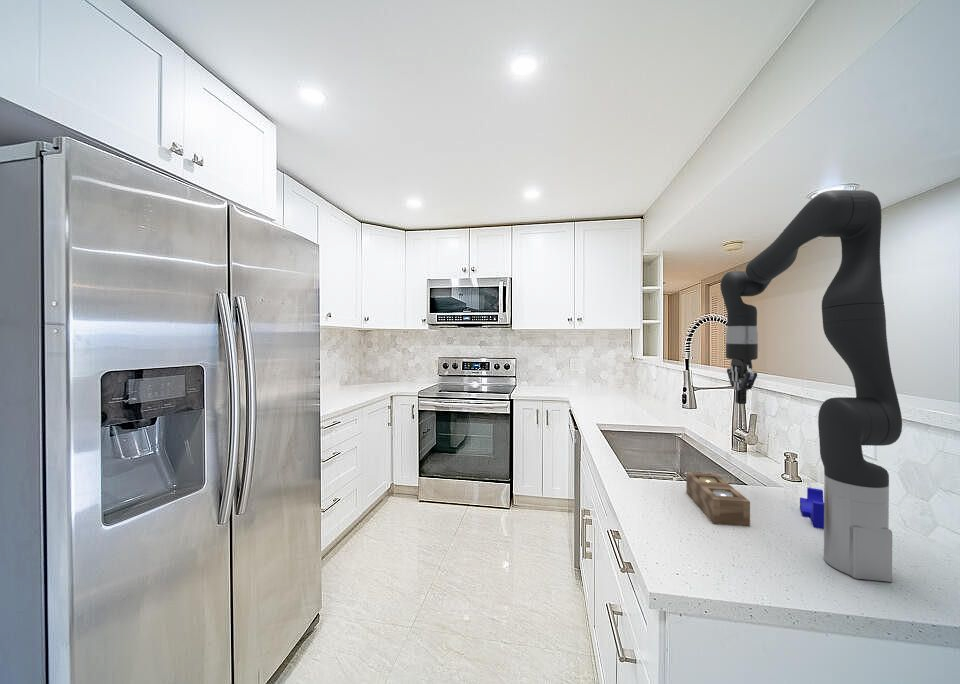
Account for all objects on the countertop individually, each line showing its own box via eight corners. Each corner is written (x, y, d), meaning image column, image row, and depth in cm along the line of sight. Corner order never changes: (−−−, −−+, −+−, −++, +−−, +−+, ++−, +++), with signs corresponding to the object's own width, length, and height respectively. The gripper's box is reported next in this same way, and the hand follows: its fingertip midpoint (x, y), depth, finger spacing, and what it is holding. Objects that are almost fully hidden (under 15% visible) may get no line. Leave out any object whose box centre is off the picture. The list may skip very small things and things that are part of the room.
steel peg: (736, 519, 98) (736, 497, 98) (716, 517, 99) (717, 495, 99) (728, 511, 102) (728, 490, 102) (710, 510, 103) (710, 489, 103)
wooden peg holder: (750, 526, 95) (750, 501, 95) (713, 523, 96) (713, 499, 96) (716, 494, 115) (716, 473, 115) (686, 492, 116) (686, 472, 116)
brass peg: (719, 502, 108) (719, 482, 108) (702, 501, 109) (702, 481, 109) (713, 496, 112) (713, 477, 112) (696, 495, 113) (696, 476, 113)
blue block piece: (799, 508, 106) (799, 486, 105) (822, 512, 103) (822, 489, 103) (805, 526, 96) (805, 501, 96) (830, 531, 93) (830, 505, 93)
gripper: (769, 342, 105) (768, 408, 105) (744, 341, 118) (743, 400, 118) (738, 342, 106) (737, 407, 107) (717, 341, 119) (716, 399, 120)
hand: (740, 403), depth 113 cm, fingers closed
